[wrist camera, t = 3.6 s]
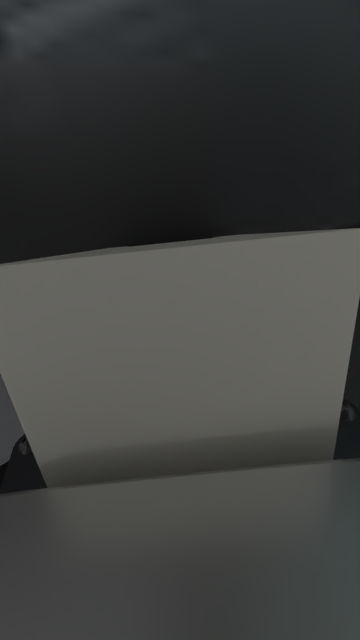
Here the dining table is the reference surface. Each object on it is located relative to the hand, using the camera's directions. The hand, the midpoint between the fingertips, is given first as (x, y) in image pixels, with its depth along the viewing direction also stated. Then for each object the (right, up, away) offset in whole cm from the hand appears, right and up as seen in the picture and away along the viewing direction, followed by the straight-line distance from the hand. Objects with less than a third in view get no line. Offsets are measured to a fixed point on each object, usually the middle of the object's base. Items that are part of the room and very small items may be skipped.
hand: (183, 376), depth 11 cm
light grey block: (0, +1, +2) cm, 2 cm away
